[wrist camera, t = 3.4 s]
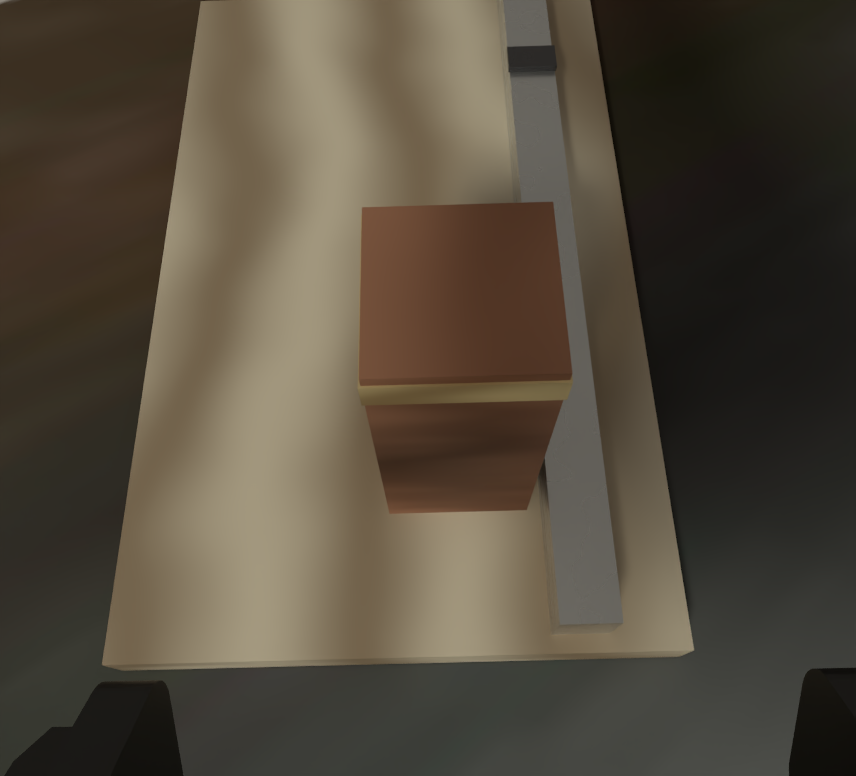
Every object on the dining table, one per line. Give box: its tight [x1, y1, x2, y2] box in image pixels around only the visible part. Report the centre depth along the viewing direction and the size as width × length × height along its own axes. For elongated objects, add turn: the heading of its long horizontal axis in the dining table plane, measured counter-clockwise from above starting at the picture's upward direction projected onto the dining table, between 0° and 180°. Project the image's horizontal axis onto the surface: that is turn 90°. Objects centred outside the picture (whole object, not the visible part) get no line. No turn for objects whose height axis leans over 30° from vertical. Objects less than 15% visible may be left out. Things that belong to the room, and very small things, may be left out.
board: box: [102, 0, 694, 671], centre depth 27 cm, size 16×26×2 cm, turn 1°
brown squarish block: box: [358, 202, 573, 514], centre depth 19 cm, size 4×4×9 cm
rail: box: [497, 0, 624, 635], centre depth 26 cm, size 2×25×2 cm, turn 1°
